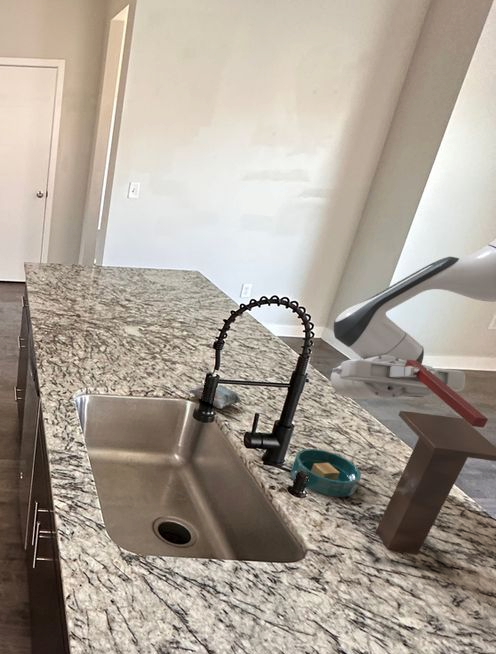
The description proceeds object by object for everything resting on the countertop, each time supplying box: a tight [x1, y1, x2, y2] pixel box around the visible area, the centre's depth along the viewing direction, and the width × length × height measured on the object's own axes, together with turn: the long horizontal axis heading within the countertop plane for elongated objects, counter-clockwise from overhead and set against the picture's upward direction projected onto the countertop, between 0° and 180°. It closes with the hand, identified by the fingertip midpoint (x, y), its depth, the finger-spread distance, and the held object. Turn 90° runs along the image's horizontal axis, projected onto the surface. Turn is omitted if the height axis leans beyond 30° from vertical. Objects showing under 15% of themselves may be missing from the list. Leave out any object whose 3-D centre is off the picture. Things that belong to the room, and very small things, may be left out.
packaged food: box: [186, 383, 243, 410], centre depth 149 cm, size 9×12×5 cm
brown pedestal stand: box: [375, 410, 496, 556], centre depth 96 cm, size 12×12×26 cm
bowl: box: [290, 448, 362, 498], centre depth 117 cm, size 12×12×5 cm
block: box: [311, 463, 340, 481], centre depth 118 cm, size 4×4×4 cm
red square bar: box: [405, 360, 489, 428], centre depth 94 cm, size 2×22×2 cm, turn 168°
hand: (424, 372), depth 99 cm, fingers closed on red square bar, 2 cm apart
